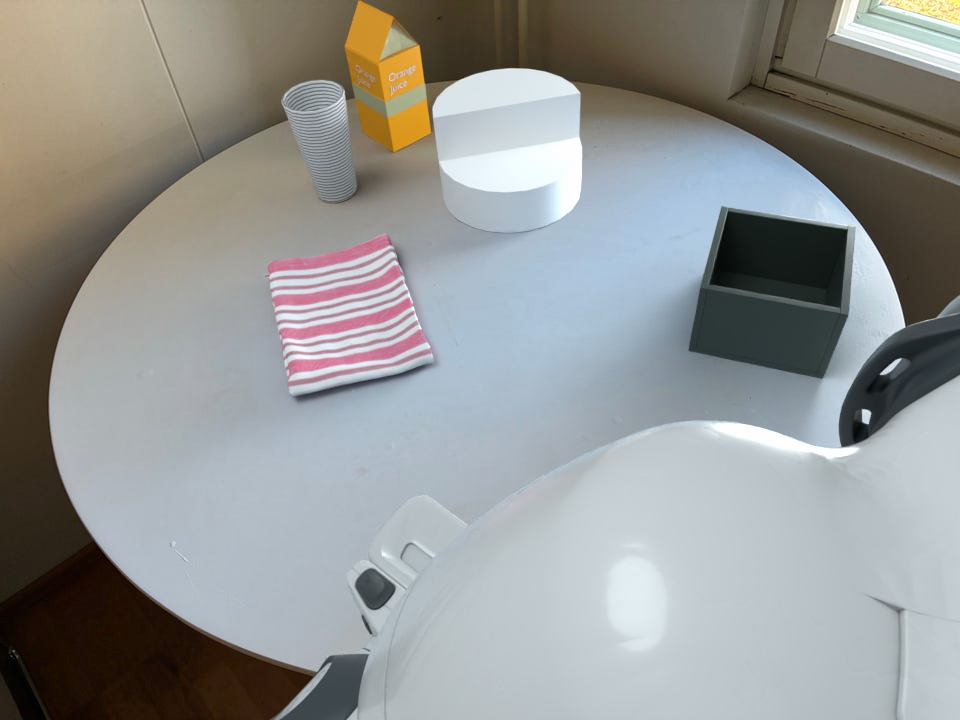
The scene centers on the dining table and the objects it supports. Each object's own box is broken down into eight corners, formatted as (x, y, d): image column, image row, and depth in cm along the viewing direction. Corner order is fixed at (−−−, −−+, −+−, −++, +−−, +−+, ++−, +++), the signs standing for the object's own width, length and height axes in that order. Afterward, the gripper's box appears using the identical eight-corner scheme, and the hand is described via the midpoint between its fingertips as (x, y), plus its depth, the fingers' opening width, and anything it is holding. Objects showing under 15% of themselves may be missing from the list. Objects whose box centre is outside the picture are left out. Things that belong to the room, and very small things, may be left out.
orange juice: (393, 152, 120) (370, 26, 105) (361, 132, 124) (335, 8, 110) (432, 132, 123) (415, 6, 108) (399, 113, 128) (379, -10, 113)
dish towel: (393, 247, 104) (389, 226, 102) (437, 367, 89) (433, 347, 86) (269, 278, 102) (261, 257, 99) (291, 407, 86) (283, 387, 84)
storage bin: (832, 291, 93) (855, 226, 85) (823, 378, 84) (848, 315, 76) (709, 269, 97) (721, 205, 89) (688, 350, 88) (700, 287, 81)
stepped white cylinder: (455, 244, 104) (445, 159, 94) (433, 163, 117) (422, 81, 107) (598, 218, 105) (603, 132, 95) (560, 141, 118) (560, 58, 109)
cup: (299, 188, 115) (271, 93, 103) (349, 168, 118) (327, 72, 106) (323, 216, 110) (296, 118, 98) (375, 193, 113) (355, 96, 101)
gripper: (553, 749, 47) (672, 583, 53) (330, 560, 57) (454, 439, 63) (553, 777, 51) (663, 621, 58) (348, 597, 61) (461, 482, 68)
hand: (552, 525), depth 61 cm, fingers closed on supplement box, 4 cm apart
